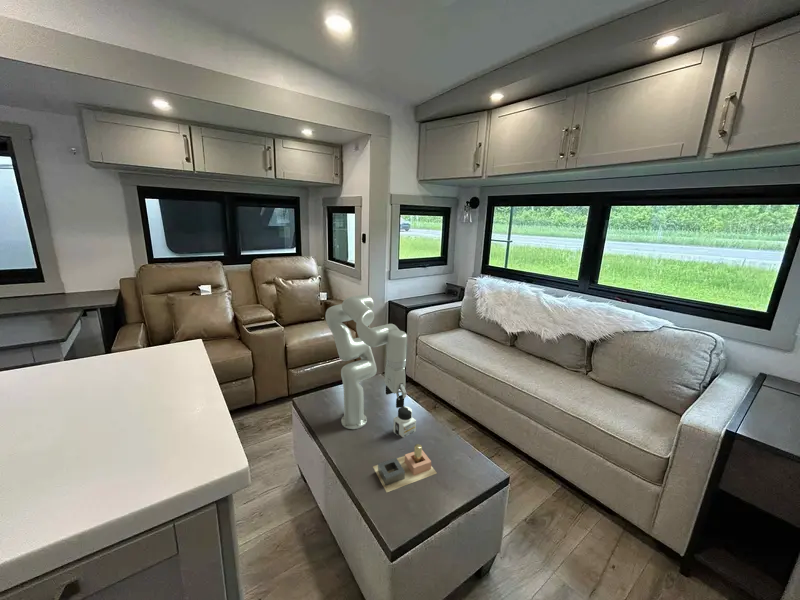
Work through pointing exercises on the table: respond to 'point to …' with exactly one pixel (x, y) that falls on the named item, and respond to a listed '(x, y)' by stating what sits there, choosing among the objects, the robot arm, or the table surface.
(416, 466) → the socket collar
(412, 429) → the container
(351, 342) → the robot arm
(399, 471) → the mount collar
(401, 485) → the oak board
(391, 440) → the table surface
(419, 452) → the brass pin
